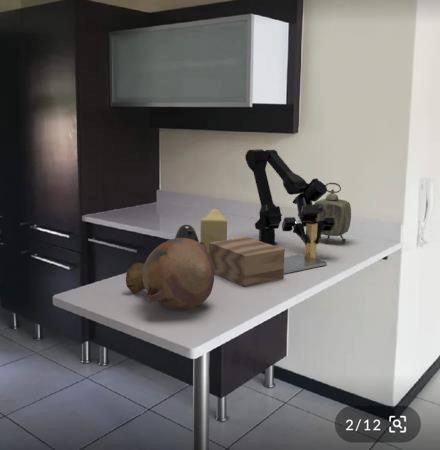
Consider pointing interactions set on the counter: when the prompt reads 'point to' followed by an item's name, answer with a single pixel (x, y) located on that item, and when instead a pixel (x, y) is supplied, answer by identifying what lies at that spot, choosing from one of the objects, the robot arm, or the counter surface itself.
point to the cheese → (213, 228)
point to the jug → (174, 274)
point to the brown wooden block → (247, 261)
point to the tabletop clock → (335, 214)
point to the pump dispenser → (187, 232)
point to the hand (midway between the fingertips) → (312, 243)
